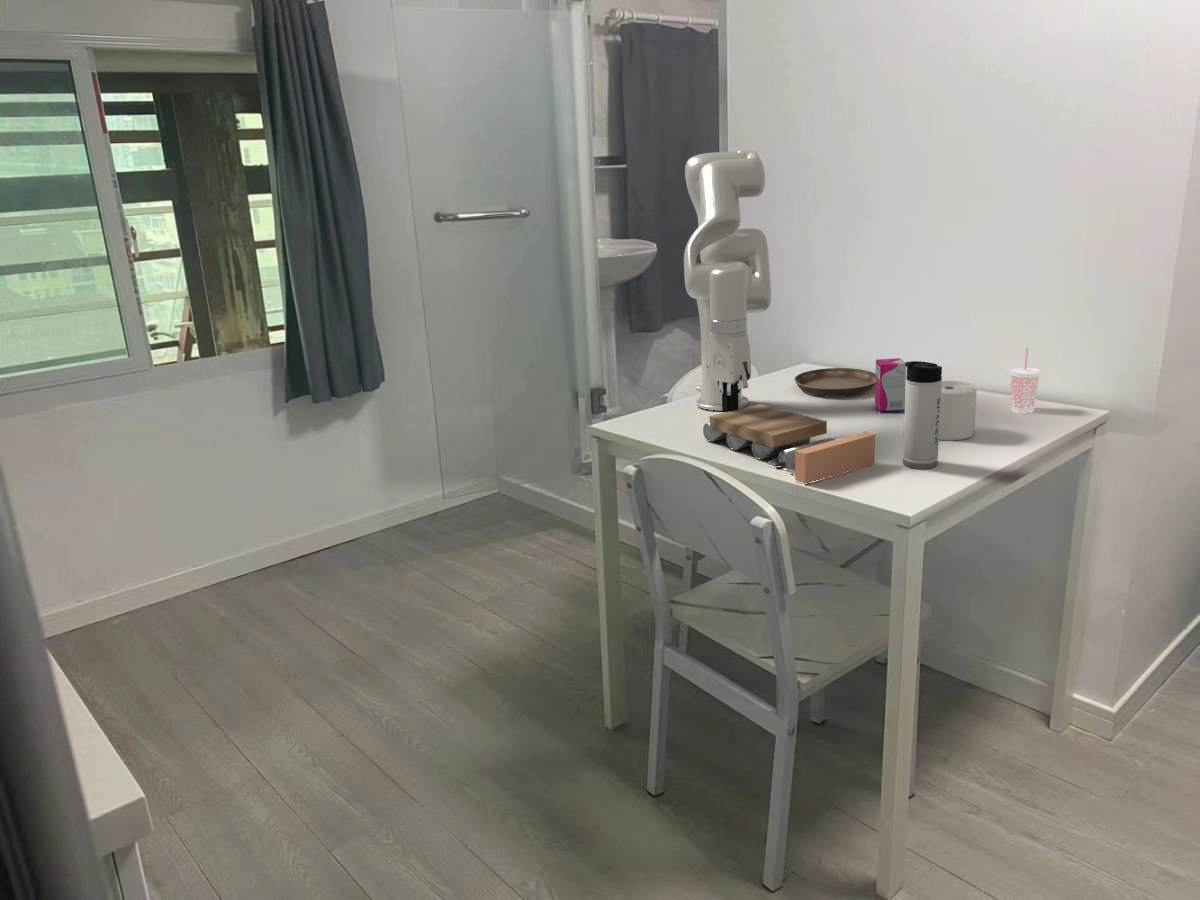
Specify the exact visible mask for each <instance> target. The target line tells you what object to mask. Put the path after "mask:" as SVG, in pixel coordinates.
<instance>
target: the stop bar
mask: <svg viewBox="0 0 1200 900" xmlns="http://www.w3.org/2000/svg"><path fill="white" fill-rule="evenodd" d="M876 436H877V435H876V433H873V432H868V431H862V432H859V433H855V434H852V435H846V436H844V437H840V438H838V439H837V438H836V439H835V440H833V441H829V442H826V443H822V444H818V445H815V446H811V447H808V448H804V449H800V450H797V451H795V476H794V477H795V479H794V480H797V481H799V482H802V483H804V484H805V483H809V482H812V481H816V480H820V479H823V478H827V477H830V476H833V477H835V476H834V475H837V474H840V475H842V474H841V473H843V474H845V473H844V472H847V471H850V472H852V471H851V470H853V471H855V470H854V469H856V470H859V469H858V468H860V469H862V467H863V468H866V467H869V465H870V466H873V465H875V463H876V439H877V438H876ZM865 466H866V467H865ZM847 473H848V472H847ZM837 476H838V475H837ZM830 478H831V477H830ZM827 479H828V478H827ZM823 480H824V479H823ZM820 481H821V480H820Z"/></svg>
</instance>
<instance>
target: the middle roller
mask: <svg viewBox="0 0 1200 900" xmlns="http://www.w3.org/2000/svg"><path fill="white" fill-rule="evenodd" d="M726 443H727V447H729V448H730V449H731V448H733V449H735V450H734V451H737V450H740V449H744V448H749V447H752V443H753V441H750V440H747V439H744V438H741V437H738V436H735V435H731V434H727V438H726Z"/></svg>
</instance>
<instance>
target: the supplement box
mask: <svg viewBox="0 0 1200 900" xmlns="http://www.w3.org/2000/svg"><path fill="white" fill-rule="evenodd" d="M875 374H876V384H875V386H874V387H875V389H874V390H875V395H874V396H875V397H874V400H875V401H874V407H875V408H876V410H877V411H878V413H879V412H880V413H879V414H884V413H885V414H888V413H889V414H890V413H891V414H892V413H905V394H906V377H907V367H906V366H905V361H904V360H903V359H902V358H901V357H899V358H883V359H882V358H880V359H875Z"/></svg>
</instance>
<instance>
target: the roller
mask: <svg viewBox="0 0 1200 900" xmlns="http://www.w3.org/2000/svg"><path fill="white" fill-rule="evenodd" d="M833 440H836V439H835V438H833V437H827V438H823V439H819V440H816V441H813V442H812V441H811V442H810V443H808V444H804V445H801V446H797V447H793V448H790V449H786V450H783V451H781V452H780V453H779V454H778V458H779V463H780V465H781V467H780V468H782V467H783V468H786V469H788V468H790V467H794V466H795V451H797V450H800V449H804V448H808V447H811V446H815V445H818V444H822V443H826V442H829V441H833ZM783 468H782V469H783Z"/></svg>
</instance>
